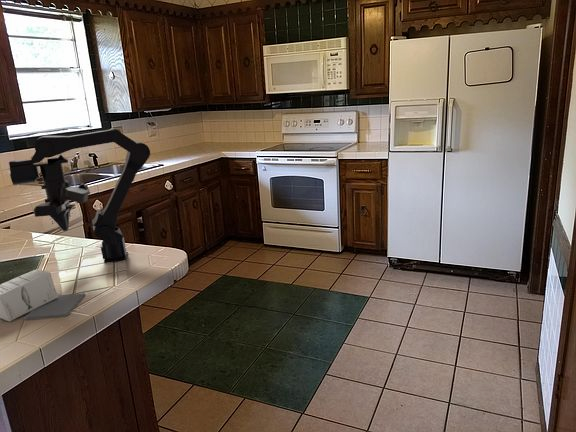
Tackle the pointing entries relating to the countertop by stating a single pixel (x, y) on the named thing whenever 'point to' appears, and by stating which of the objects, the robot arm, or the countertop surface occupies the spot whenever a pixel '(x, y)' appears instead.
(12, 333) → the countertop surface
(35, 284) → the supplement box
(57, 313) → the rubber mat
